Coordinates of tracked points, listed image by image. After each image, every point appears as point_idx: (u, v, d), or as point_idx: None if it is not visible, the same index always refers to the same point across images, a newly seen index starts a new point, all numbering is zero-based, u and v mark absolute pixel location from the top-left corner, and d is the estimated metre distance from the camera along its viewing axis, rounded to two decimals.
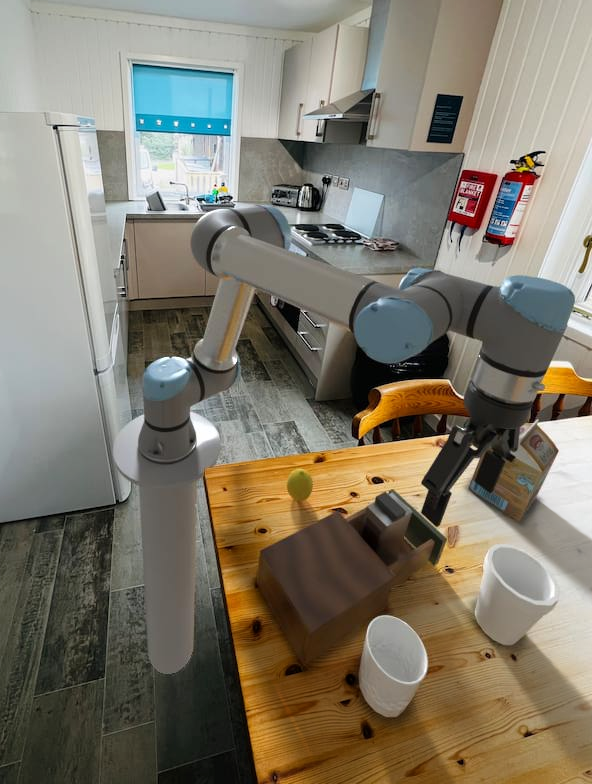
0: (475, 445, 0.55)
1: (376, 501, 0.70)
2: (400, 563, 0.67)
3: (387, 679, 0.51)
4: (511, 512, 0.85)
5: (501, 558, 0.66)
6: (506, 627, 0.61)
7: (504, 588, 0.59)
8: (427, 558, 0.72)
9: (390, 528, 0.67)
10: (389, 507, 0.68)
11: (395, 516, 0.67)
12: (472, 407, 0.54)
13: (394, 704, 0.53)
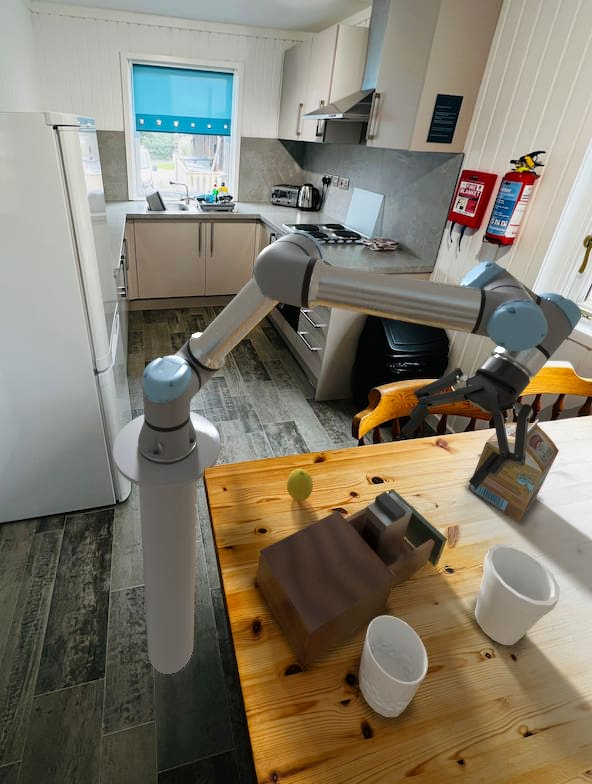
0: None
1: (376, 501, 0.70)
2: (400, 563, 0.67)
3: (387, 679, 0.51)
4: (511, 512, 0.85)
5: (501, 558, 0.66)
6: (506, 627, 0.61)
7: (504, 588, 0.59)
8: (427, 558, 0.72)
9: (390, 528, 0.67)
10: (389, 507, 0.68)
11: (395, 516, 0.67)
12: (520, 386, 0.68)
13: (394, 704, 0.53)
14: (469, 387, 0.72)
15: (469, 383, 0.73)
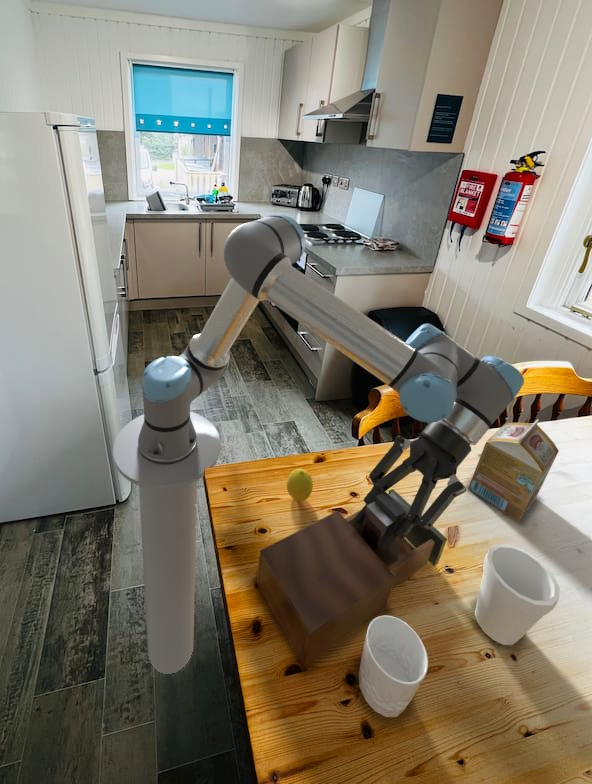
0: (437, 480, 0.68)
1: (376, 501, 0.70)
2: (400, 563, 0.67)
3: (387, 679, 0.51)
4: (511, 512, 0.85)
5: (501, 558, 0.66)
6: (506, 627, 0.61)
7: (504, 588, 0.59)
8: (427, 558, 0.72)
9: None
10: (389, 507, 0.68)
11: (395, 516, 0.67)
12: (461, 455, 0.67)
13: (394, 704, 0.53)
14: (413, 455, 0.71)
15: (414, 448, 0.72)
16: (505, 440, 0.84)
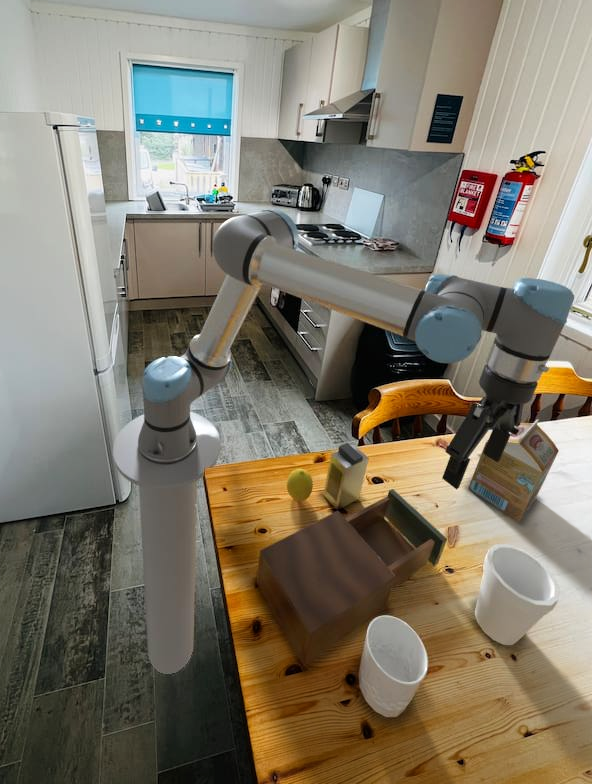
0: (489, 419, 0.66)
1: (339, 450, 0.84)
2: (400, 563, 0.67)
3: (387, 679, 0.51)
4: (511, 512, 0.85)
5: (501, 558, 0.66)
6: (506, 627, 0.61)
7: (504, 588, 0.59)
8: (427, 558, 0.72)
9: (350, 471, 0.81)
10: (349, 454, 0.82)
11: (353, 460, 0.81)
12: (488, 387, 0.65)
13: (394, 704, 0.53)
14: None
15: None
16: None
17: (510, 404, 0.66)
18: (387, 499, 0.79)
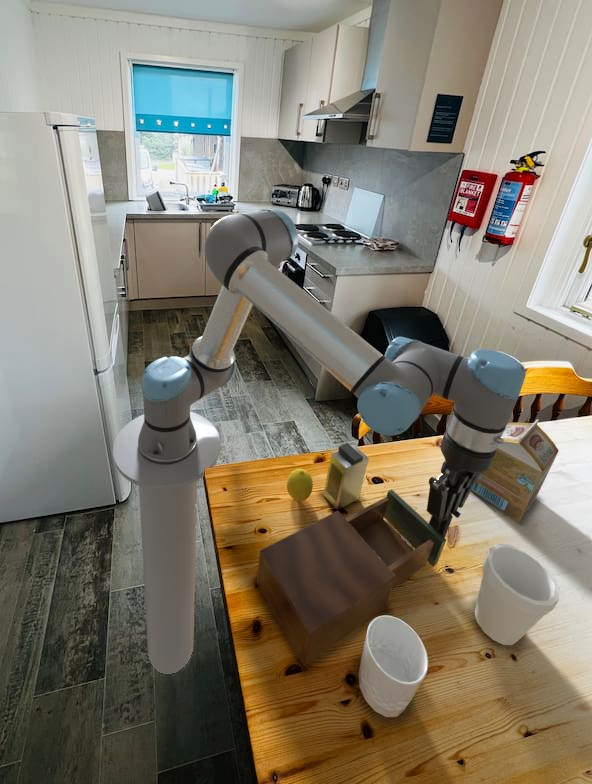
0: (450, 484, 0.67)
1: (339, 450, 0.84)
2: (399, 564, 0.67)
3: (387, 679, 0.51)
4: (511, 512, 0.85)
5: (501, 558, 0.66)
6: (506, 627, 0.61)
7: (504, 588, 0.59)
8: (426, 559, 0.72)
9: (350, 471, 0.81)
10: (349, 454, 0.82)
11: (353, 460, 0.81)
12: (447, 453, 0.66)
13: (394, 704, 0.53)
14: None
15: None
16: (505, 440, 0.84)
17: None
18: (386, 500, 0.79)
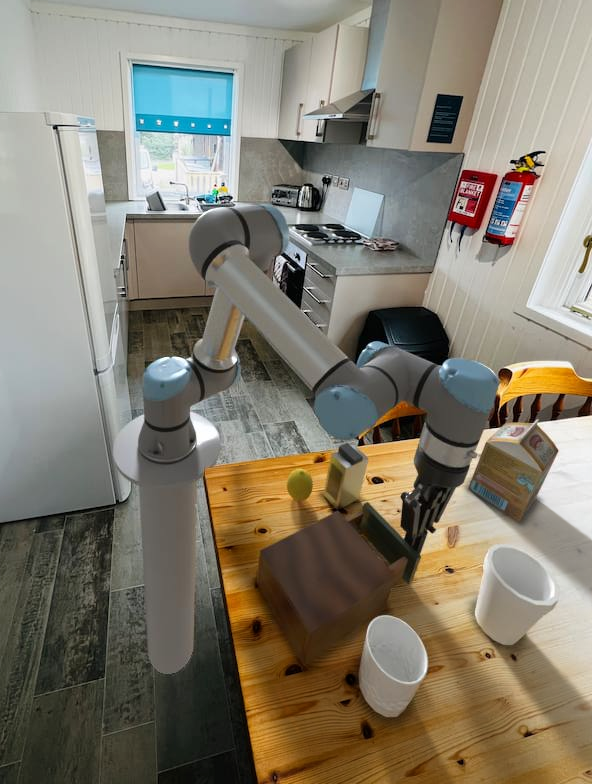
0: (423, 499, 0.64)
1: (339, 450, 0.84)
2: None
3: (387, 679, 0.51)
4: (511, 512, 0.85)
5: (501, 558, 0.66)
6: (506, 627, 0.61)
7: (504, 588, 0.59)
8: (400, 576, 0.69)
9: (350, 471, 0.81)
10: (349, 454, 0.82)
11: (353, 460, 0.81)
12: (419, 467, 0.62)
13: (394, 704, 0.53)
14: None
15: None
16: (505, 440, 0.84)
17: None
18: (361, 513, 0.76)
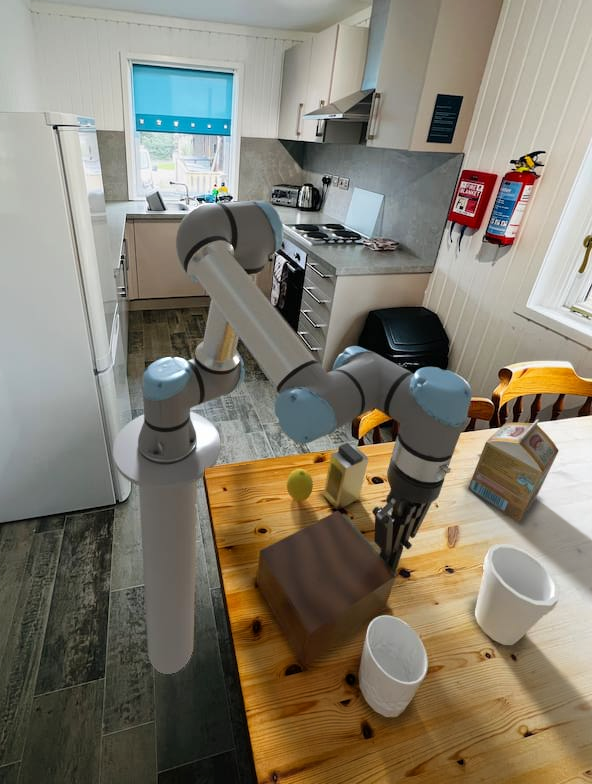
0: (396, 514, 0.61)
1: (339, 450, 0.84)
2: None
3: (387, 679, 0.51)
4: (511, 512, 0.85)
5: (501, 558, 0.66)
6: (506, 627, 0.61)
7: (504, 588, 0.59)
8: None
9: (350, 471, 0.81)
10: (349, 454, 0.82)
11: (353, 460, 0.81)
12: (392, 481, 0.59)
13: (394, 704, 0.53)
14: None
15: None
16: (505, 440, 0.84)
17: None
18: None
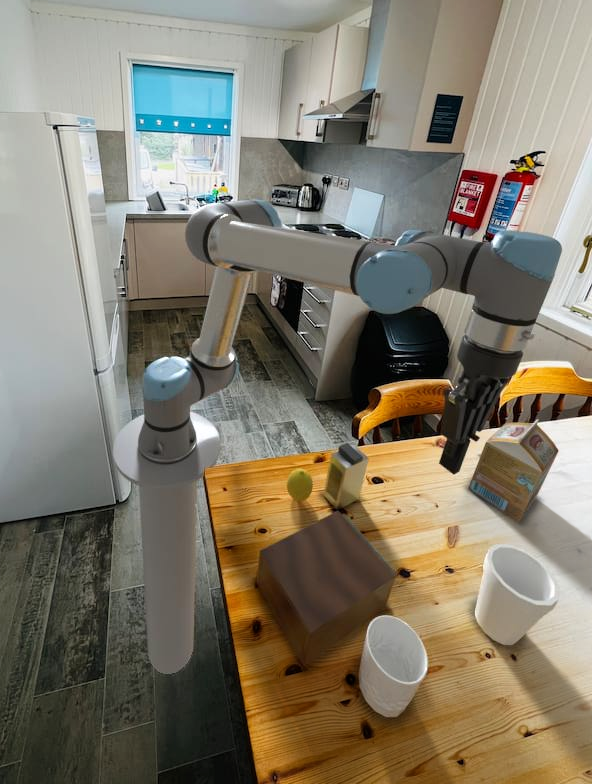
0: (468, 397, 0.58)
1: (339, 450, 0.84)
2: None
3: (387, 679, 0.51)
4: (511, 512, 0.85)
5: (501, 558, 0.66)
6: (506, 627, 0.61)
7: (504, 588, 0.59)
8: None
9: (350, 471, 0.81)
10: (349, 454, 0.82)
11: (353, 460, 0.81)
12: (465, 359, 0.56)
13: (394, 704, 0.53)
14: None
15: None
16: (505, 440, 0.84)
17: (495, 379, 0.58)
18: None
